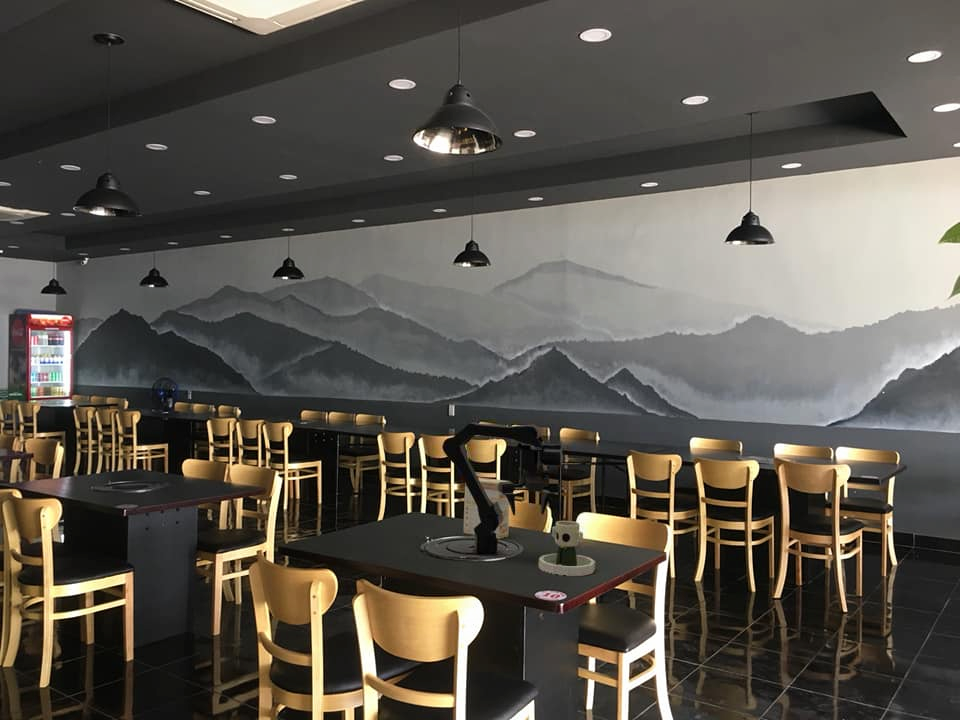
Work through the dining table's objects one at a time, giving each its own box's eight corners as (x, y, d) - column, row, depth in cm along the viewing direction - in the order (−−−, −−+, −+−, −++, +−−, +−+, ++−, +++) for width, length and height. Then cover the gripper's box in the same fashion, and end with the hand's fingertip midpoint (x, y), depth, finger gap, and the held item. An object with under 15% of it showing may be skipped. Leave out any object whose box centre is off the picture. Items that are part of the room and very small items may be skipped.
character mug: (544, 565, 224) (545, 521, 224) (558, 561, 229) (559, 518, 230) (574, 572, 217) (575, 527, 217) (588, 568, 222) (589, 524, 222)
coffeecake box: (508, 536, 264) (510, 480, 265) (497, 539, 259) (499, 482, 259) (474, 530, 273) (476, 476, 273) (462, 533, 267) (464, 478, 268)
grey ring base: (548, 576, 213) (549, 567, 213) (533, 562, 229) (533, 554, 229) (602, 575, 217) (602, 566, 217) (583, 561, 232) (583, 553, 232)
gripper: (507, 468, 227) (505, 520, 226) (566, 467, 231) (565, 519, 230) (498, 463, 237) (496, 513, 237) (554, 463, 242) (553, 512, 241)
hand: (528, 514), depth 236 cm, fingers open, 9 cm apart
